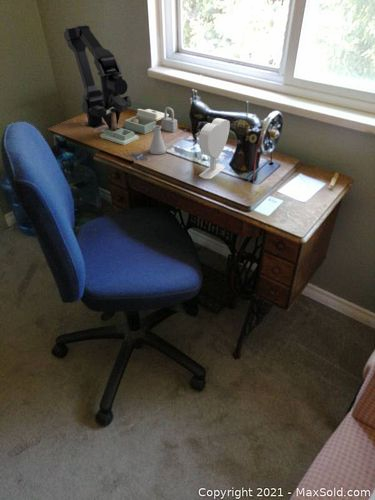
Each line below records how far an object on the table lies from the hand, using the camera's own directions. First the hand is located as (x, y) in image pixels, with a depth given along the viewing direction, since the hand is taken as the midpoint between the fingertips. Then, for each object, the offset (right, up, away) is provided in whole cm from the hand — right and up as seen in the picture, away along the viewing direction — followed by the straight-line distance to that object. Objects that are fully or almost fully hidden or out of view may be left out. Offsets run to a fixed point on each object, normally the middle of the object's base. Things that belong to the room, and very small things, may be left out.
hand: (113, 127), depth 160 cm
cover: (+16, +9, +12) cm, 22 cm away
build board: (+3, -4, +1) cm, 5 cm away
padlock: (+24, +1, +9) cm, 25 cm away
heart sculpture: (+41, -24, -23) cm, 52 cm away
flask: (+20, -13, -9) cm, 26 cm away
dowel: (0, -2, +1) cm, 2 cm away
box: (+11, +2, +9) cm, 14 cm away
